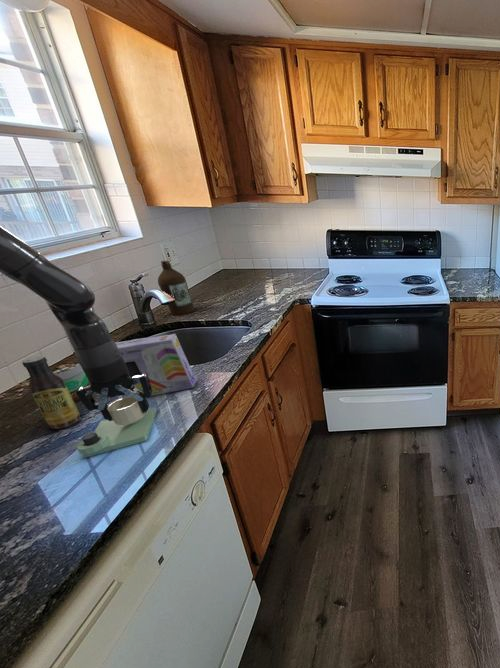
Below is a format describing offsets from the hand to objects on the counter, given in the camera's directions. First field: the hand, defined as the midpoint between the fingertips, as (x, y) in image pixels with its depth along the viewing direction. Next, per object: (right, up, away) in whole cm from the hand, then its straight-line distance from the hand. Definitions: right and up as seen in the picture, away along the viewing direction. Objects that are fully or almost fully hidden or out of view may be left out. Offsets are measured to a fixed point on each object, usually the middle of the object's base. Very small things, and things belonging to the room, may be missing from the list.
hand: (129, 414), depth 96 cm
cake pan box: (-5, +3, +17) cm, 18 cm away
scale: (-1, -5, 0) cm, 5 cm away
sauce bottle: (-20, -3, +4) cm, 21 cm away
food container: (-29, +2, +15) cm, 33 cm away
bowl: (0, -1, +1) cm, 1 cm away
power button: (-2, -5, -8) cm, 9 cm away
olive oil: (-46, +33, +82) cm, 100 cm away
